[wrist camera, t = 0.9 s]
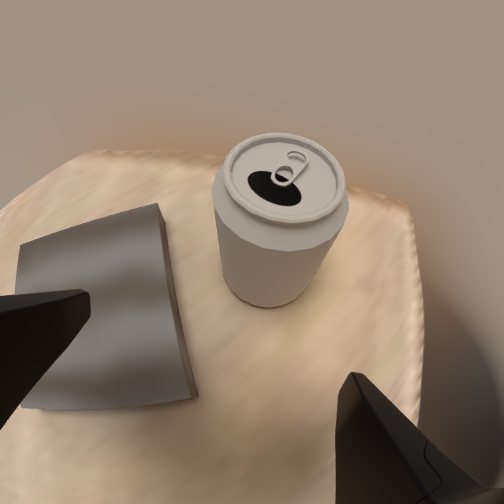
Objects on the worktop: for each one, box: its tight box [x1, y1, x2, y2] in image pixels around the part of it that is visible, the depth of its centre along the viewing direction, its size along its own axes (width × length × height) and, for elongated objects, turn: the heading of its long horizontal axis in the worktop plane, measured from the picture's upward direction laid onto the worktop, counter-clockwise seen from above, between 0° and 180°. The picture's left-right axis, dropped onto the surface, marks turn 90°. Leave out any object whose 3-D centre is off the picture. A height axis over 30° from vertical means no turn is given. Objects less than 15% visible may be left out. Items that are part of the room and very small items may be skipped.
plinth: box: [15, 203, 198, 410], centre depth 19 cm, size 16×16×3 cm
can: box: [212, 133, 349, 308], centre depth 18 cm, size 8×8×12 cm
